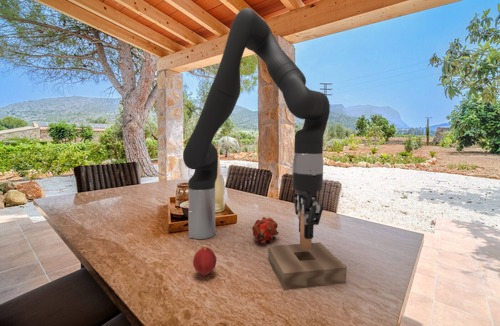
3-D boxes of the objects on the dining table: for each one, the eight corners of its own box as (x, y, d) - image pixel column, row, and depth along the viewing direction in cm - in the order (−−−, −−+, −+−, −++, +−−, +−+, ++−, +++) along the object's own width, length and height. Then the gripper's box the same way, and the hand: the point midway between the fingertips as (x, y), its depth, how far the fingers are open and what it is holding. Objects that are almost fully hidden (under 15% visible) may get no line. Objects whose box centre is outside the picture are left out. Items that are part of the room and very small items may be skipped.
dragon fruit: (272, 237, 88) (261, 257, 78) (254, 222, 90) (241, 240, 79) (285, 222, 85) (276, 241, 74) (266, 207, 86) (255, 223, 75)
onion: (195, 269, 65) (194, 240, 64) (216, 268, 65) (216, 239, 64) (191, 282, 59) (191, 250, 58) (215, 281, 59) (215, 250, 58)
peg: (302, 249, 62) (303, 211, 61) (298, 244, 65) (299, 208, 64) (313, 248, 63) (314, 211, 62) (308, 243, 66) (309, 207, 65)
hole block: (283, 289, 56) (283, 273, 56) (268, 259, 70) (268, 246, 70) (345, 282, 59) (346, 267, 59) (319, 254, 73) (320, 242, 72)
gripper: (284, 167, 68) (283, 226, 70) (305, 175, 54) (302, 248, 56) (309, 166, 69) (308, 225, 71) (335, 174, 56) (332, 246, 58)
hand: (305, 235), depth 64 cm, fingers closed on peg, 3 cm apart
